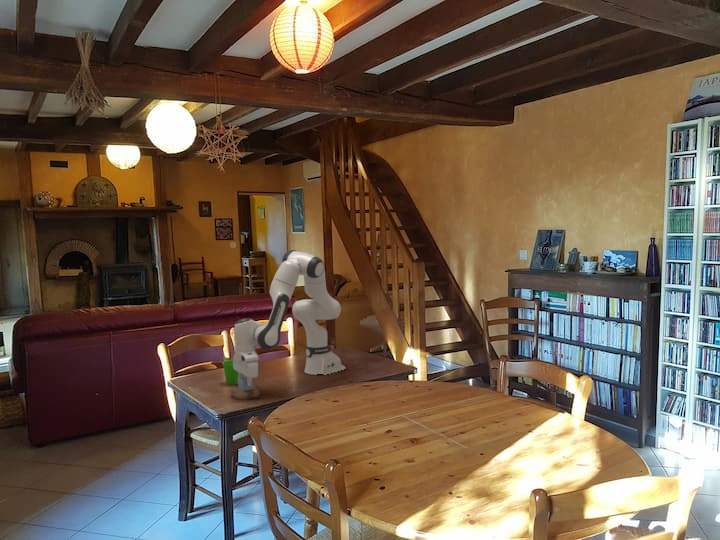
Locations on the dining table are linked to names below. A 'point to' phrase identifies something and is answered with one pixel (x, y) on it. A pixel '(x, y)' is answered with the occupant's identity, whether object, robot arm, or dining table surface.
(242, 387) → the cube
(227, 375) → the cup
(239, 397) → the trivet
